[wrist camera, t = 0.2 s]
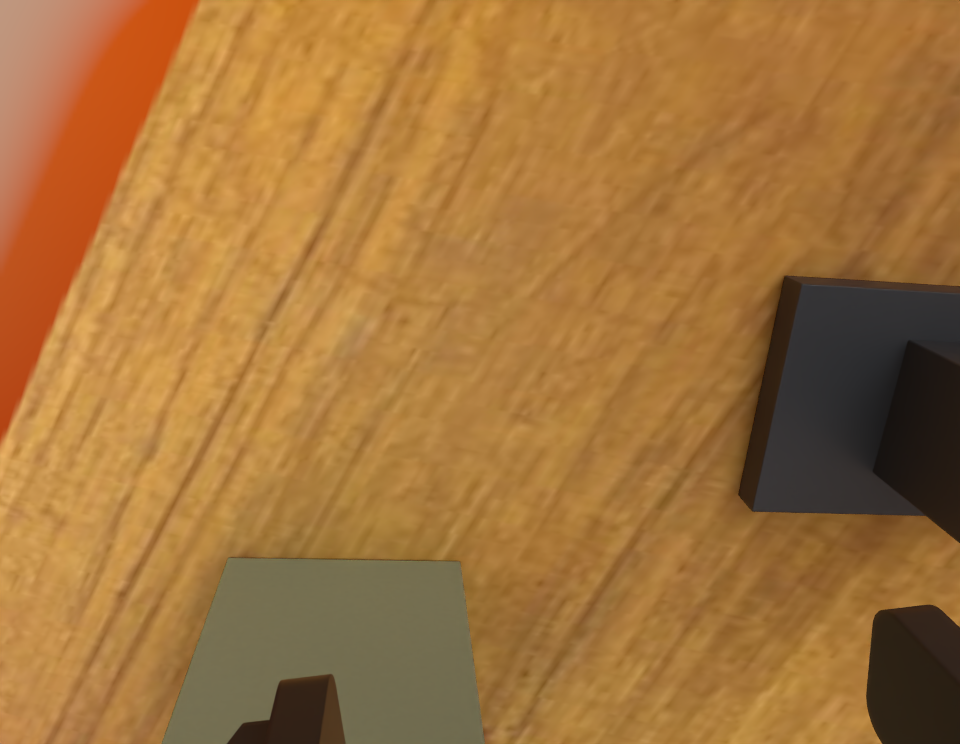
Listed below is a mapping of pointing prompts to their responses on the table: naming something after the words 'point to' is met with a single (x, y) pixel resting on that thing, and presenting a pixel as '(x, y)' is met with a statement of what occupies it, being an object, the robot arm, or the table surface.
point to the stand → (860, 403)
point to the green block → (336, 650)
